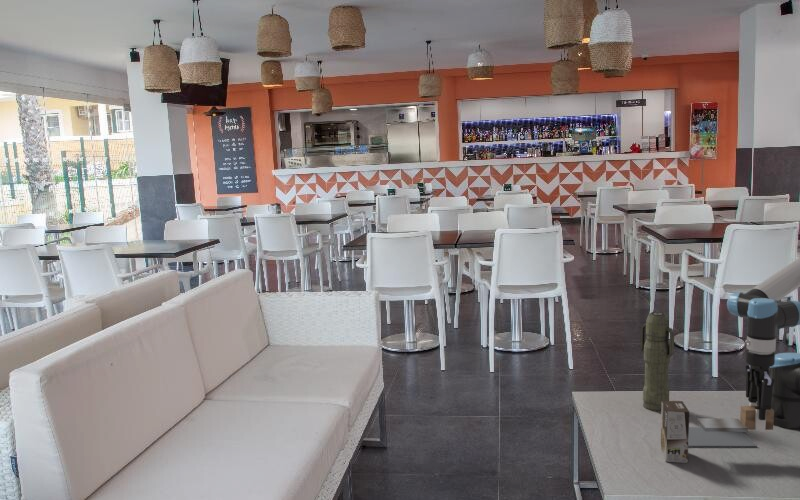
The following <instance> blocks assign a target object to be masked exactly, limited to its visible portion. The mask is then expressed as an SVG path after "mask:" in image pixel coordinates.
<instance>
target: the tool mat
mask: <svg viewBox="0 0 800 500" xmlns="http://www.w3.org/2000/svg"><path fill="white" fill-rule="evenodd" d="M688 448H758V445H757V444H756V443H755V442H754V441H753V440H752V439H751V438H750V437H749V436H748V435H747V434H746V432H709V431H705V430H704V429H703V428H702V427H701V426H699V427H697V426H695V427H694V426H689V435H688Z"/></svg>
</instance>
